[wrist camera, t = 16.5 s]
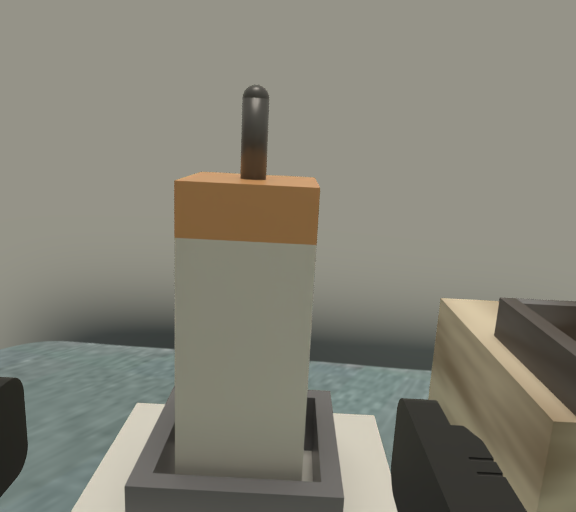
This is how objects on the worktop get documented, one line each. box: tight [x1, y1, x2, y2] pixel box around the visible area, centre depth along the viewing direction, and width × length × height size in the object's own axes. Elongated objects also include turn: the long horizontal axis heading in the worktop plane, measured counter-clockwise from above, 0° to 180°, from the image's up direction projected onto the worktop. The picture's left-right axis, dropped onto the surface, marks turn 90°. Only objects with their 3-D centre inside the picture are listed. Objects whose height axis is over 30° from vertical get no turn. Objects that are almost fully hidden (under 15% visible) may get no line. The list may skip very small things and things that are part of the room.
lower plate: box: [71, 386, 397, 512], centre depth 23 cm, size 14×14×4 cm
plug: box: [174, 85, 320, 481], centre depth 21 cm, size 5×5×18 cm
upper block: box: [428, 298, 576, 512], centre depth 25 cm, size 10×14×10 cm
